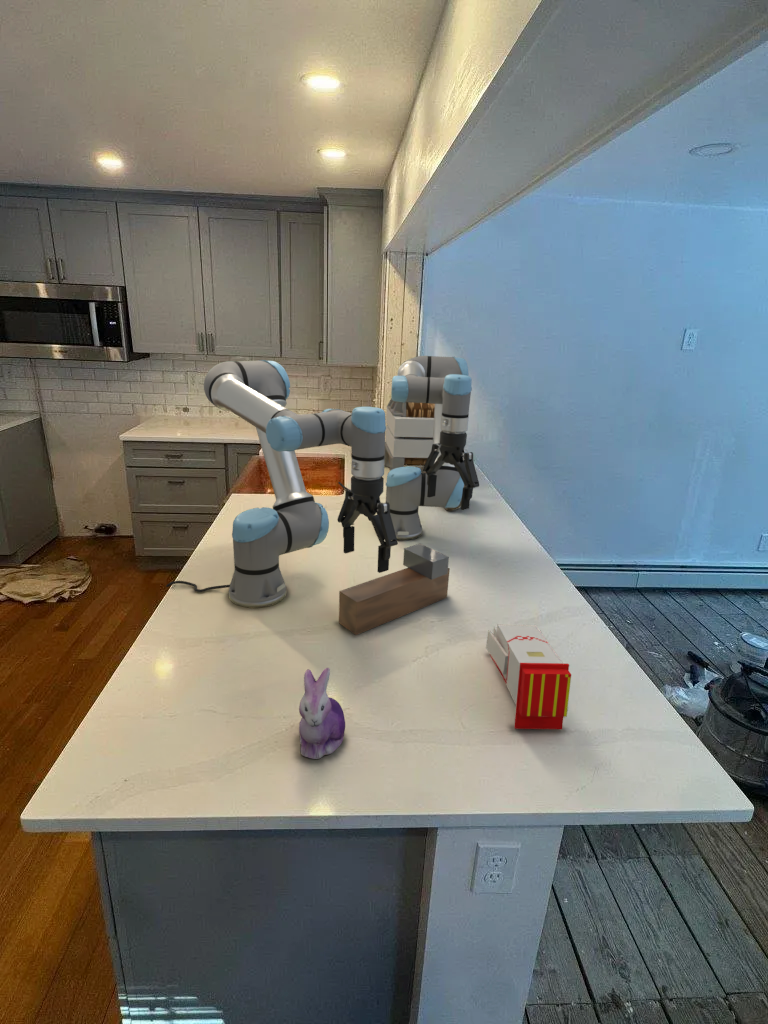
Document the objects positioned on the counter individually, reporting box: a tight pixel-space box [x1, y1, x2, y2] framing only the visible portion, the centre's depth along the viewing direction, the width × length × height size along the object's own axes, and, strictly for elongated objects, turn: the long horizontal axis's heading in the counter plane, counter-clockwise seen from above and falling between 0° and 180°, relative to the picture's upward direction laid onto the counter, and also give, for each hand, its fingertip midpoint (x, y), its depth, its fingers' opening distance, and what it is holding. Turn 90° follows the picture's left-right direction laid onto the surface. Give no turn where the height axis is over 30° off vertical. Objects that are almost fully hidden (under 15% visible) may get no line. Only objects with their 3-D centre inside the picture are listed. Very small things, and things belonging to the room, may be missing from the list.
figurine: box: [298, 667, 346, 760], centre depth 100 cm, size 9×10×15 cm
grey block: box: [402, 543, 450, 580], centre depth 152 cm, size 11×6×5 cm, turn 41°
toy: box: [485, 623, 572, 730], centre depth 120 cm, size 12×13×30 cm
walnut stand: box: [338, 567, 450, 636], centre depth 148 cm, size 7×32×9 cm, turn 131°
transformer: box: [384, 398, 460, 472], centre depth 268 cm, size 34×33×41 cm
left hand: (365, 561), depth 137 cm, fingers open, 13 cm apart
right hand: (447, 502), depth 167 cm, fingers open, 13 cm apart
